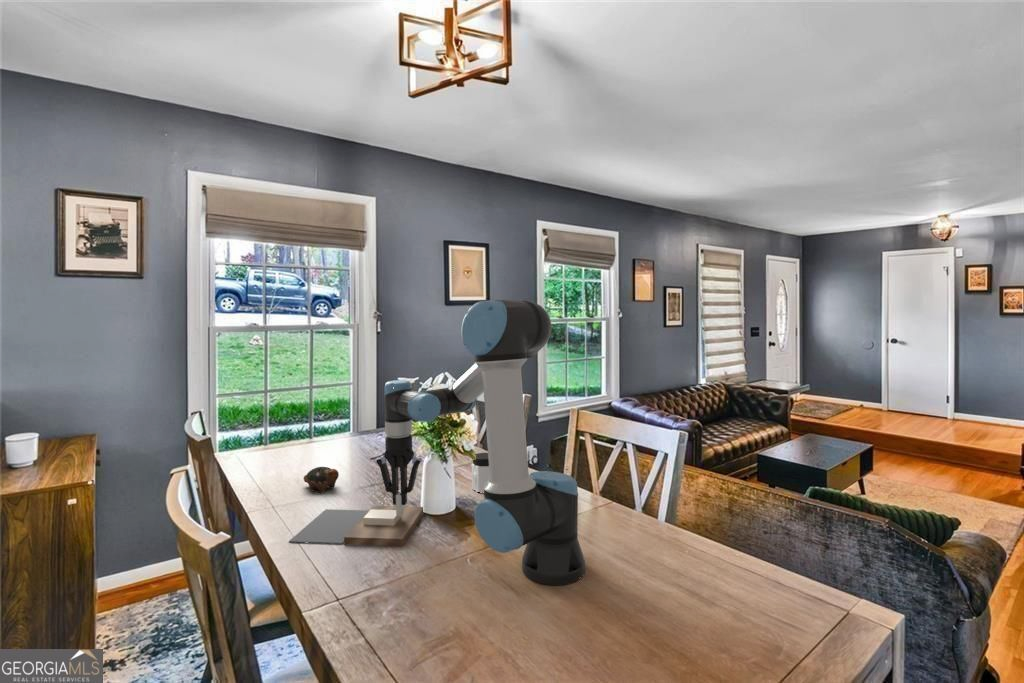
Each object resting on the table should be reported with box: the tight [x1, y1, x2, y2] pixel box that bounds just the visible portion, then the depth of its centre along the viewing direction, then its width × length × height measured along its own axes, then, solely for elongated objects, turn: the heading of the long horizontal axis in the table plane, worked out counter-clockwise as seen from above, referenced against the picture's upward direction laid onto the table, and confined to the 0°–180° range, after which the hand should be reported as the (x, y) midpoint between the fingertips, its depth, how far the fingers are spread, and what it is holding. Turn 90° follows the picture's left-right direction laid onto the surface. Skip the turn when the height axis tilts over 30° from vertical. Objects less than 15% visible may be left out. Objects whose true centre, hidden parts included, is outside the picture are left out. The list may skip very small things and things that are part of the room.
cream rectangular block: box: [363, 508, 400, 526], centre depth 143 cm, size 9×6×2 cm, turn 85°
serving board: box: [343, 505, 424, 547], centre depth 143 cm, size 16×22×2 cm
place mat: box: [288, 508, 370, 545], centre depth 145 cm, size 15×22×1 cm
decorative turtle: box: [303, 466, 340, 493], centre depth 176 cm, size 10×15×8 cm, turn 71°
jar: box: [471, 452, 490, 492], centre depth 174 cm, size 9×8×12 cm
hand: (400, 515), depth 143 cm, fingers closed
